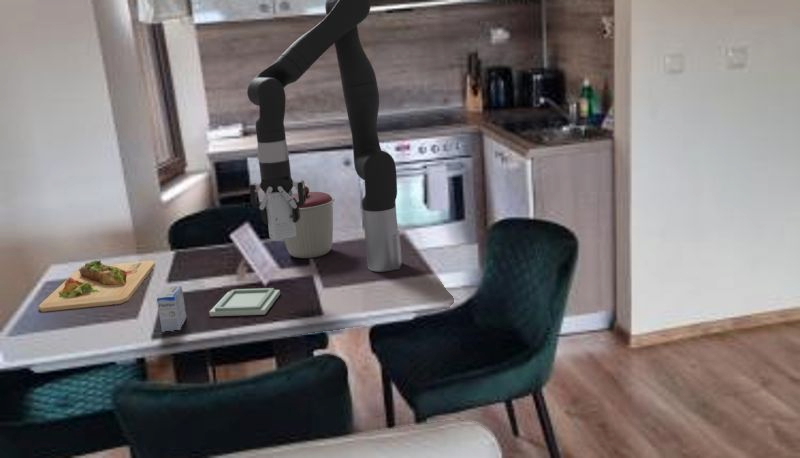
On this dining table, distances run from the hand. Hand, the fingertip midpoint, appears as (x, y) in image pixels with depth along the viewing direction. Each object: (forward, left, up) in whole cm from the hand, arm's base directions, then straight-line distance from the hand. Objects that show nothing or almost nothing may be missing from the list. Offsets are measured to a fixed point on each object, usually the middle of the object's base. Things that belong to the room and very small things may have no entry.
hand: (281, 222), depth 194 cm
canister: (+2, -34, -19) cm, 39 cm away
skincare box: (0, 0, -4) cm, 4 cm away
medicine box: (+23, +20, -19) cm, 36 cm away
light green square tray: (+9, +8, -19) cm, 23 cm away
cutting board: (+59, -12, -20) cm, 63 cm away
